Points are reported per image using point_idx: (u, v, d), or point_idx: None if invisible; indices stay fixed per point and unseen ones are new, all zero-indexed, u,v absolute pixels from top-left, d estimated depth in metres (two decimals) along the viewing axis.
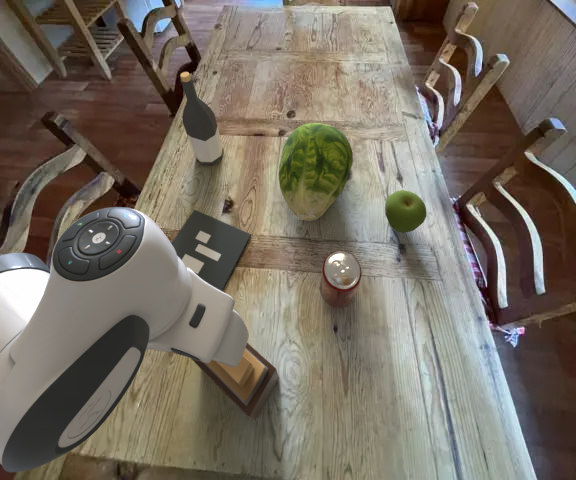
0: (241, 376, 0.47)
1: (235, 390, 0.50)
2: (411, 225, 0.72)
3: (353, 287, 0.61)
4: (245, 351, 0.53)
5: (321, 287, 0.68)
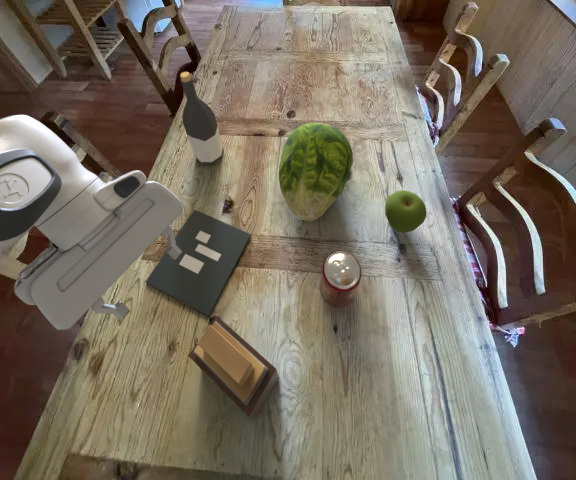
0: (241, 376, 0.47)
1: (235, 390, 0.50)
2: (411, 225, 0.72)
3: (353, 287, 0.61)
4: (245, 351, 0.53)
5: (321, 287, 0.68)
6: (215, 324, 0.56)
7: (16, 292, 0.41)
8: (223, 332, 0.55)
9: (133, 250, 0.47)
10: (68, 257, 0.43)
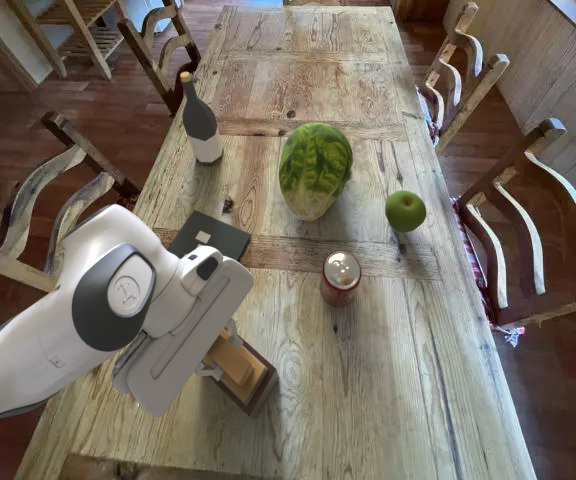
0: (241, 376, 0.47)
1: (235, 390, 0.50)
2: (411, 225, 0.72)
3: (353, 287, 0.61)
4: (245, 351, 0.53)
5: (321, 287, 0.68)
6: None
7: (114, 383, 0.42)
8: (223, 332, 0.55)
9: (214, 329, 0.49)
10: (158, 344, 0.45)
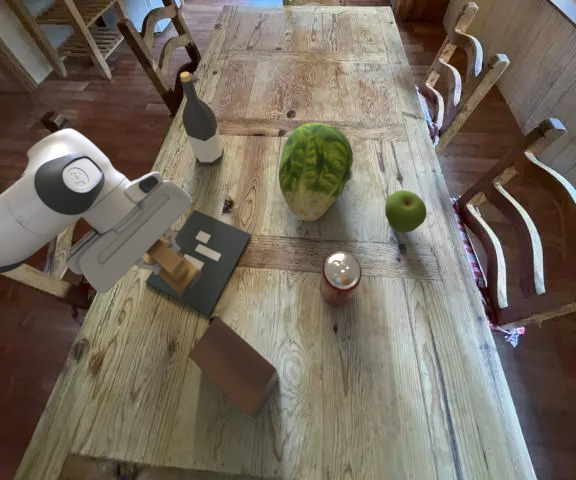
0: (173, 268, 0.58)
1: (171, 284, 0.61)
2: (411, 225, 0.72)
3: (353, 287, 0.61)
4: (183, 258, 0.64)
5: (321, 287, 0.68)
6: (160, 239, 0.67)
7: (67, 264, 0.54)
8: (166, 244, 0.66)
9: (153, 234, 0.60)
10: (105, 238, 0.56)
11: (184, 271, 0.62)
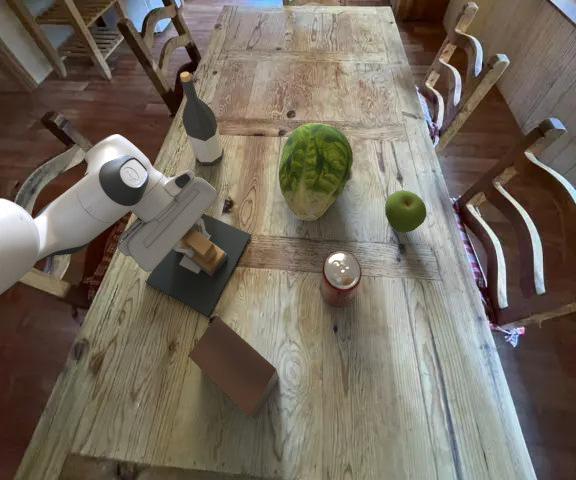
0: (205, 251, 0.69)
1: (203, 265, 0.72)
2: (411, 225, 0.72)
3: (353, 287, 0.61)
4: None
5: (321, 287, 0.68)
6: None
7: (119, 247, 0.64)
8: (196, 232, 0.77)
9: (187, 222, 0.71)
10: (149, 226, 0.67)
11: (213, 254, 0.72)
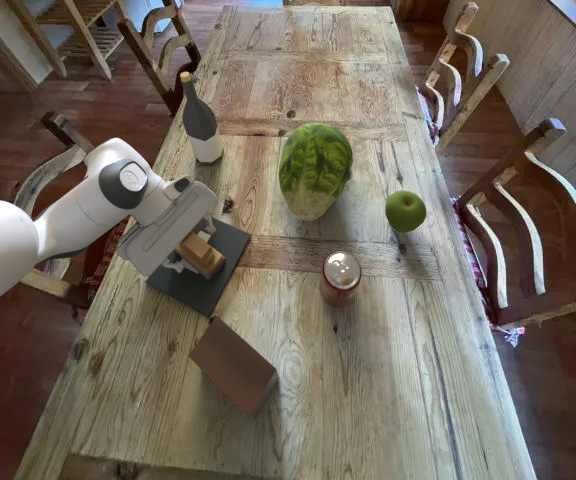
0: (203, 254, 0.69)
1: (200, 268, 0.71)
2: (411, 225, 0.72)
3: (353, 287, 0.61)
4: None
5: (321, 287, 0.68)
6: None
7: (117, 251, 0.64)
8: (194, 235, 0.77)
9: (186, 227, 0.71)
10: (147, 230, 0.67)
11: (211, 257, 0.72)
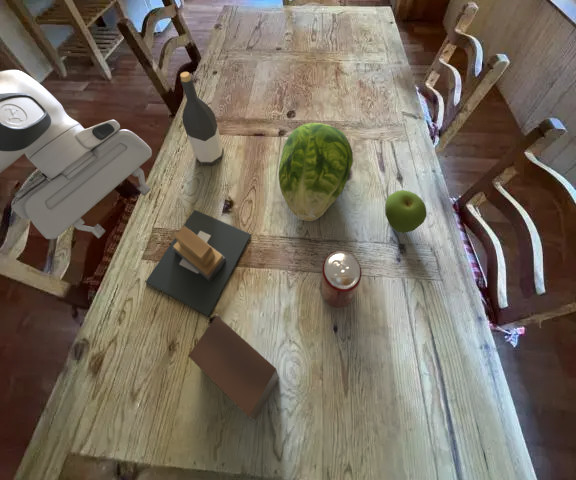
0: (203, 254, 0.69)
1: (200, 268, 0.71)
2: (411, 225, 0.72)
3: (353, 287, 0.61)
4: None
5: (321, 287, 0.68)
6: None
7: (13, 208, 0.51)
8: (194, 235, 0.77)
9: (108, 182, 0.58)
10: (54, 183, 0.54)
11: (211, 257, 0.72)
